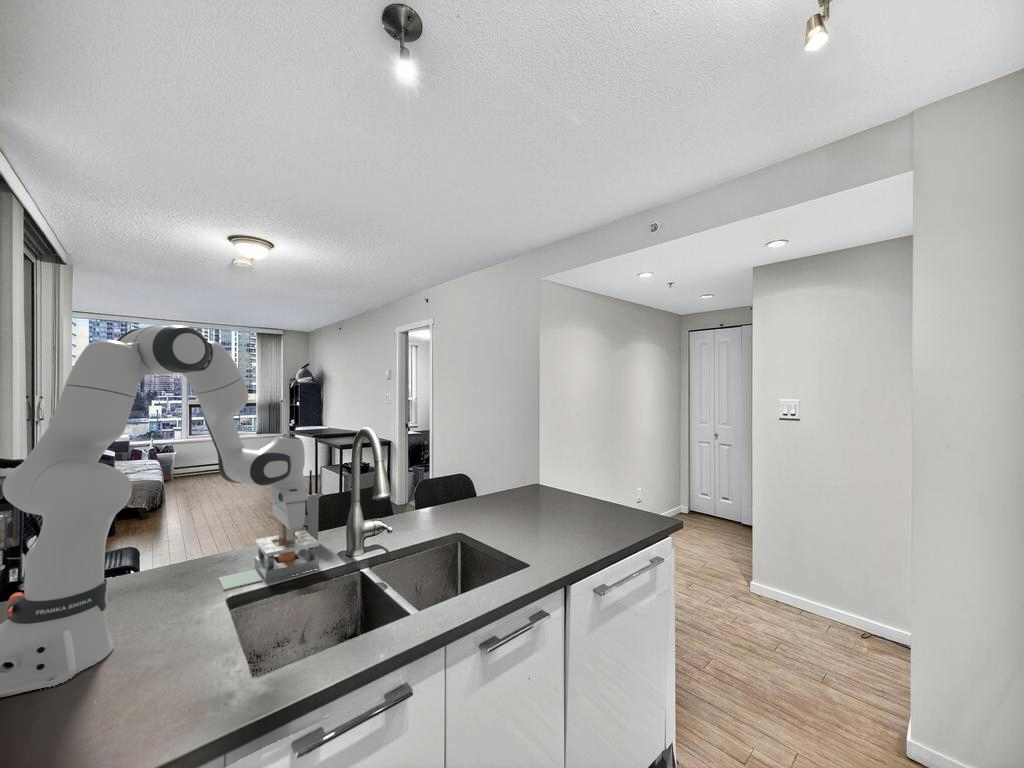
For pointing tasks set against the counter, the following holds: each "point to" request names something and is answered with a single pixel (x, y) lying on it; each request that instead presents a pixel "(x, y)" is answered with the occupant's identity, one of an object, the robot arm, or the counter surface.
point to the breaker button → (286, 557)
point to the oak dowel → (282, 536)
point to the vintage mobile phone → (311, 512)
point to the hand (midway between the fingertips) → (286, 537)
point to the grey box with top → (269, 552)
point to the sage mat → (239, 579)
